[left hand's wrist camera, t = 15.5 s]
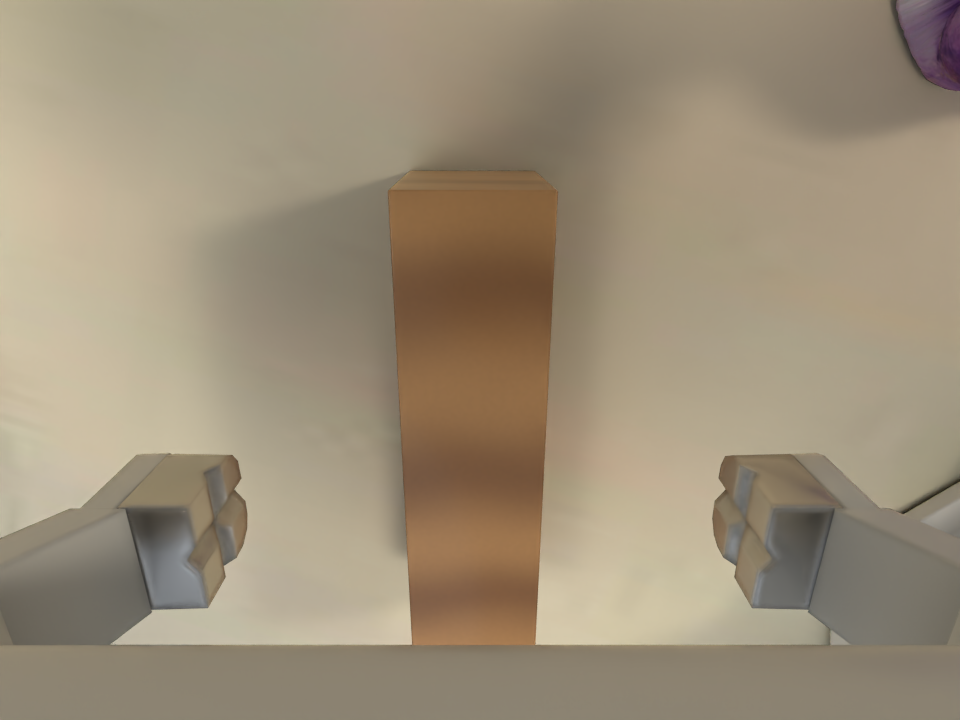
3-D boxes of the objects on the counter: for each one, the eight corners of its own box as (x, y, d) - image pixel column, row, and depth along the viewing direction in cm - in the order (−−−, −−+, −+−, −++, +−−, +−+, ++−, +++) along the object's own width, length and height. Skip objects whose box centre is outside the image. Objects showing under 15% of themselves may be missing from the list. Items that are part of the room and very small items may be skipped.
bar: (408, 170, 28) (387, 189, 21) (535, 170, 28) (558, 190, 21) (424, 563, 37) (413, 674, 29) (521, 562, 37) (534, 672, 30)
